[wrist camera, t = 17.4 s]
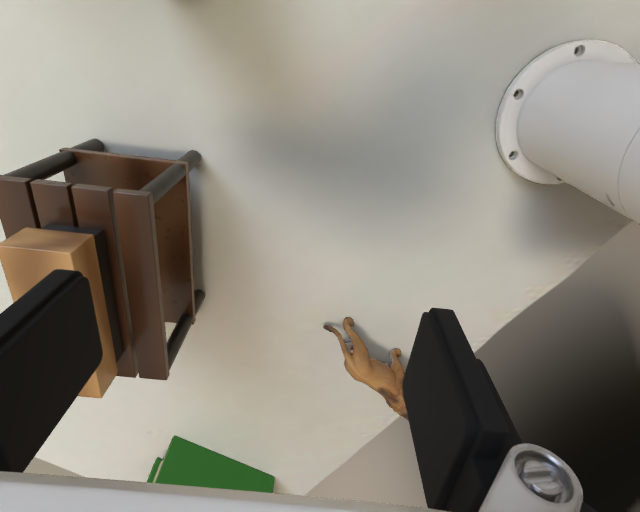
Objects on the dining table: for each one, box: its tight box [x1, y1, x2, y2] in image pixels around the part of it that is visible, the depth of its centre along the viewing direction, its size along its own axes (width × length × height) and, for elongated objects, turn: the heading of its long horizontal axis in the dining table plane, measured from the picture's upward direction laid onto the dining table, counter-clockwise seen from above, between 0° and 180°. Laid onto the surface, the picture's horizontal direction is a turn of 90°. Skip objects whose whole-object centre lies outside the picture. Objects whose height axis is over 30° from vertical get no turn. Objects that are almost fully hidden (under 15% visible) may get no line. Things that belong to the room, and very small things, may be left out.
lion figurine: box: [323, 318, 409, 420], centre depth 47 cm, size 15×5×9 cm, turn 61°
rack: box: [0, 139, 205, 380], centre depth 37 cm, size 11×18×13 cm, turn 173°
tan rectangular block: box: [0, 224, 123, 398], centre depth 30 cm, size 5×13×5 cm, turn 174°
